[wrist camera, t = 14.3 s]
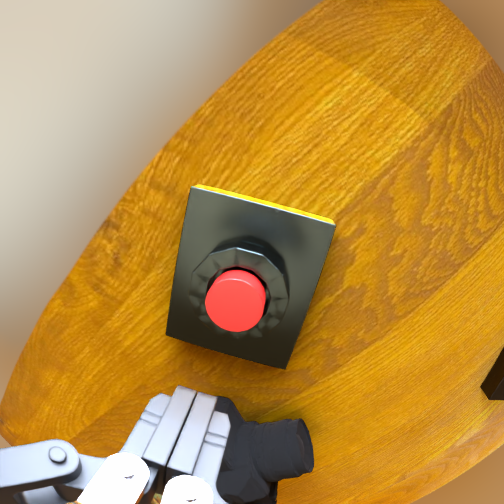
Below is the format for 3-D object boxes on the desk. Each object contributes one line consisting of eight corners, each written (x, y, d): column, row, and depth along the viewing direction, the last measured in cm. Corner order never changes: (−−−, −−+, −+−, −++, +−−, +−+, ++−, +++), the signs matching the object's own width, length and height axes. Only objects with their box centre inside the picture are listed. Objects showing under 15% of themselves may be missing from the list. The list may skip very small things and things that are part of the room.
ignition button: (217, 262, 20) (211, 271, 18) (271, 277, 20) (270, 288, 18) (207, 310, 21) (200, 322, 19) (258, 325, 21) (255, 338, 19)
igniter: (199, 183, 22) (181, 187, 18) (332, 219, 22) (341, 230, 18) (174, 322, 26) (156, 346, 22) (286, 354, 25) (284, 384, 22)
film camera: (325, 461, 29) (327, 523, 20) (248, 474, 31) (238, 531, 22) (283, 373, 26) (278, 450, 17) (190, 393, 28) (161, 460, 19)
